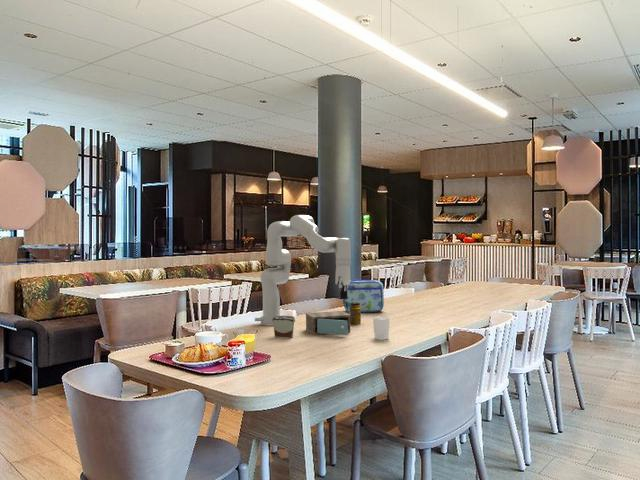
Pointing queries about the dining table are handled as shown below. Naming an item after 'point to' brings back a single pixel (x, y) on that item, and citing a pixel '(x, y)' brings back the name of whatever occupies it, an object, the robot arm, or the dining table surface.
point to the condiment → (355, 314)
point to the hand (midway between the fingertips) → (343, 298)
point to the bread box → (335, 315)
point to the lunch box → (365, 295)
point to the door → (332, 326)
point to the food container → (283, 326)
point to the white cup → (381, 328)
